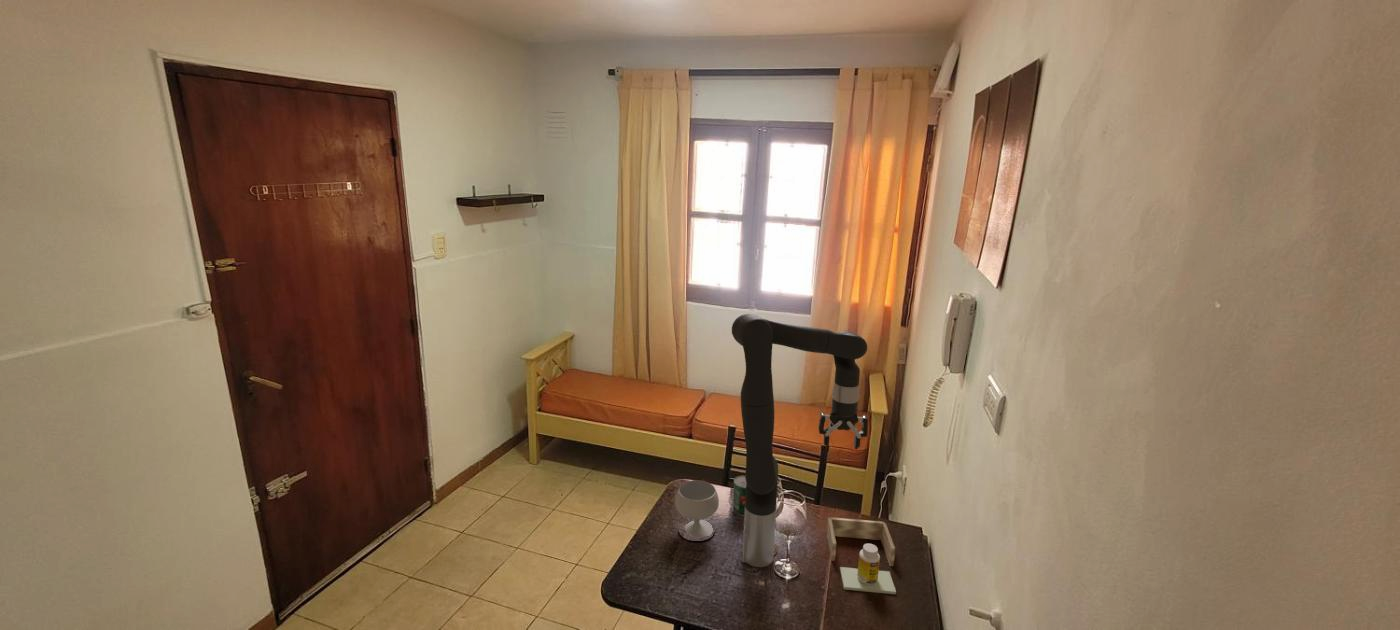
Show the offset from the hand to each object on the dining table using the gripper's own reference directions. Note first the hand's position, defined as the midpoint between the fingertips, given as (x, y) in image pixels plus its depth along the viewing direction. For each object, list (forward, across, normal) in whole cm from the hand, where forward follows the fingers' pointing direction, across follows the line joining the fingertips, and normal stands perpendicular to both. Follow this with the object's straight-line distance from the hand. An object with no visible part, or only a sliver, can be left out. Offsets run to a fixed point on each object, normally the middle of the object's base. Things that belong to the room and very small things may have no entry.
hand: (841, 447), depth 160 cm
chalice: (+32, -44, -2) cm, 55 cm away
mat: (+32, +7, -18) cm, 37 cm away
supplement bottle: (+32, +7, -18) cm, 37 cm away
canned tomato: (+32, -29, +12) cm, 45 cm away
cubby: (+32, +7, -4) cm, 33 cm away
